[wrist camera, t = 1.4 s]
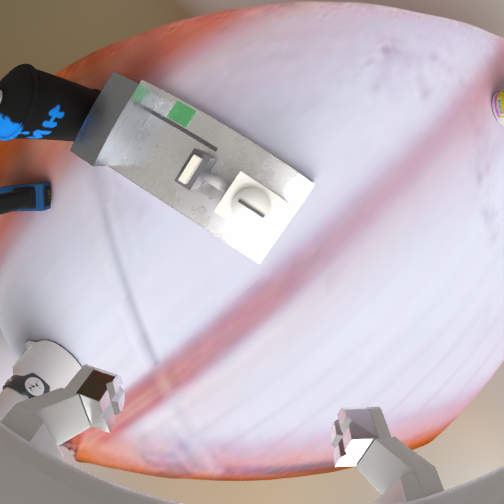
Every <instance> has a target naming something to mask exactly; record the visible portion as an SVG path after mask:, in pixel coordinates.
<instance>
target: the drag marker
mask: <svg viewBox="0 0 504 504" xmlns="http://www.w3.org/2000/svg"><path fill="white" fill-rule="evenodd" d="M216 161H217V159H216V158H214V157H213V156H211V155H209V154H208V153H206V152H205V151H203V150H199V149H196V148H194V149H193V151H192V152H191V154H190V155H189V157H188V159H187V160H186V162H185V163H184V165H183V167H182V168H181V170H180V172H179V173H178V175H177V177H176V178H175V180H174V181H175V182H177V183H178V184H180V185H182V186H183V187H185V188H186V189H188V190H189V191H190V190H193V189H196V188H199V187H200V186H201V184H202V183H203V181H204V177H205V176H206V174H207V173H208V172H209V171H210V170H211V168H212V167H213V165H214V164H215V162H216Z"/></svg>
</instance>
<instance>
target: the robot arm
mask: <svg viewBox="0 0 504 504" xmlns="http://www.w3.org/2000/svg"><path fill="white" fill-rule="evenodd" d="M25 350H26V352H25V353H24V354H23V355H22V356H21V357H20V359H19V360H18V361H17V362H16V363H15V364H14V366H13V374H14V375H13V376H12V377H11V378H10V379H9V380H8V381H7V382H6V383H5V385H4V386H3V391H2V392H1V393H0V504H183V503H178V502H174V501H170V500H166V499H162V498H158V497H155V496H151V495H148V494H145V493H141V492H138V491H135V490H132V489H129V488H126V487H123V486H120V485H118V484H114V483H112V482H109V481H107V480H105V479H102V478H100V477H97V476H95V475H92V474H90V473H88V472H86V471H83V470H81V469H79V468H77V467H74V466H73V465H70V464H69V463H66V462H65V461H63V459H64V457H63V454H62V453H61V451H60V450H59V448H58V446H59V445H60V444H62V443H64V442H66V441H67V440H69V439H71V438H73V437H74V436H76V435H78V434H79V433H81V432H83V431H85V430H86V429H88V428H90V427H91V426H93V427H96V428H98V429H101V430H104V431H107V432H110V431H111V429H112V427H113V426H114V424H115V422H116V418H115V415H117V414H119V413H121V411H122V409H123V406H124V402H125V394H124V391H123V389H122V388H121V387H120V386H121V384H122V380H121V377H120V376H119V375H116V374H113V373H110V372H107V371H104V370H101V369H98V368H95V367H92V366H90V365H87V364H86V365H84V366H82V367H81V366H80V364H79V363H78V362H77V361H76V359H75V358H74V357H73V356H72V355H71V354H70V353H69V352H67V351H66V350H65V349H64V348H62V347H61V346H59V345H58V344H56V343H54V342H51V341H47V340H41V341H38V342H33V341H27V342H26V343H25ZM330 439H331V444H332V445H333V446H334V447H335V450H334V452H333V458H334V464H335V467H339V466H356V468H357V469H358V470H359V471H360V472H361V473H362V474H363V475H364V477H365V478H366V479H367V480H368V481H369V482H370V483H371V484H372V486H373V487H374V488H375V489H376V490H377V491H378V492H379V493H380V494H381V495H382V496H381V497H380V498H379V499H378V500H377V501H376V502H375V503H373V504H504V466H503V467H500V468H499V469H497V470H495V471H493V472H490V473H488V474H486V475H484V476H481V477H479V478H477V479H474V480H472V481H469V482H467V483H465V484H462V485H459V486H456V487H454V488H451V489H448V490H445V491H444V489H443V486H442V484H441V481H440V478H439V476H438V473H437V471H436V468H435V467H434V466H433V465H431V464H430V463H429V462H427V461H426V460H425V459H423V458H422V457H421V456H419V455H418V454H417V453H415V452H414V451H413V450H411V449H410V448H409V447H407V446H406V445H405V444H403V443H402V442H401V441H399V440H398V439H397V438H396V437H391V434H390V432H389V429H388V426H387V424H386V421H385V418H384V416H383V413H382V410H381V408H380V407H367V408H366V407H361V408H341V409H340V411H339V413H338V420H336V421H335V422H334V423H333V426H332V428H331V434H330Z"/></svg>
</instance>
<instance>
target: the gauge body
mask: <svg viewBox="0 0 504 504" xmlns="http://www.w3.org/2000/svg"><path fill="white" fill-rule="evenodd" d="M204 180H205V181H206V182H208V183H209V184H211V185H213V186H214V187H216V188H217V189H219V190H220V191H222V192H223V193H225V195H224V196H223V198H222V200H221V201H220V203H219V204H218V206H217V207H216V209H215V210H214V212H215V213H216V214H218V215H220V216H221V217H223V218H224V219H226V220H227V221H229V222H230V223H232V224H233V225H235V226H236V227H238V228H240V229H241V230H243V231H244V232H246V233H247V234H249V235H250V236H252V237H253V238H255V239H256V240H258V241H259V242H261V243H263V242H264V240H265V239H266V237H267V236H268V234H269V233H270V231H271V230H272V229H273V227H274V226H275V224H276V223H277V221H278V220H279V219H280V217H281V216H282V214H283V213H284V211H285V210H286V209H287V207H288V206H289V204H290V203H289V202H288V201H287V200H286V199H285V198H283V197H282V196H280V195H279V194H277V193H276V192H275V191H273V190H272V189H270V188H269V187H267V186H266V185H264V184H263V183H261V182H260V181H258V180H257V179H255V178H253V177H252V176H250V175H249V174H247V173H246V172H244V171H240V172H239V174H238V175H237V177H236V178H235V180H234V181H233V183H232V184H230V183H228V182H227V181H225V180H223V179H222V178H220V177H219V176H217V175H216V174H214V173H212V172H211V171H209V172H208V173H207V174H206V176H205V177H204Z"/></svg>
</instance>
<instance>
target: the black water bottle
mask: <svg viewBox="0 0 504 504" xmlns="http://www.w3.org/2000/svg"><path fill="white" fill-rule="evenodd" d="M100 92H101V91H99V90H96V89H89V88H87V87H84V86H82V85H79V84H77V83H74V82H71V81H68V80H66V79H63V78H60V77H57V76H55V75H52V74H49V73H46V72H43V71H40V70H37V69H35V68H34V67H33V66H32V65H30V64H22V65H19V66H17V67H15V68H14V69H12V70H11V71H10V72H9V73H8V74H7V75H6V76H5V77H4V78H3V79H2V80H1V81H0V140H3V141H7V140H10V139H13V138H23V139H47V140H64V141H75V139H76V137H77V135H78V133H79V131H80V129H81V127H82V125H83V123H84V121H85V119H86V117H87V115H88V114H89V112H90V110H91V108H92V106H93V105H94V103H95V101H96V99H97V98H98V96H99V94H100Z"/></svg>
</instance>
